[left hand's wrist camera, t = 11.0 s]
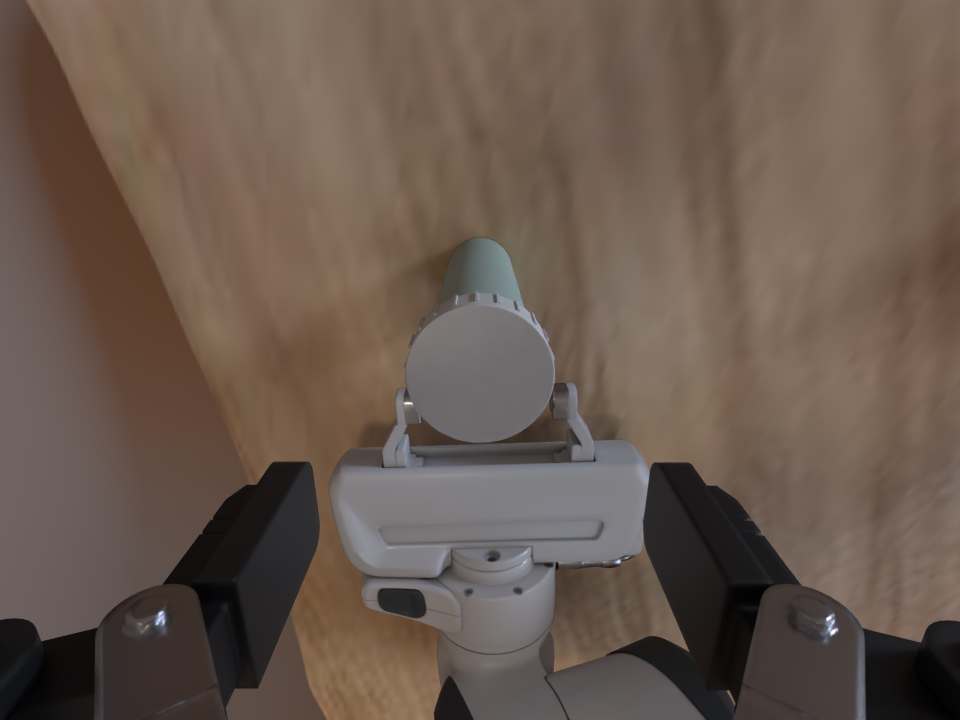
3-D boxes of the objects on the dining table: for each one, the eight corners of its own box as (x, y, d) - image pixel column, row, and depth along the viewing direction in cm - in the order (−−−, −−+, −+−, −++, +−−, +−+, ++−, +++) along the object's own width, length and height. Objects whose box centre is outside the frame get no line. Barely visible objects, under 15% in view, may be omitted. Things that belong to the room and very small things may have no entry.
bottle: (510, 236, 35) (540, 311, 18) (512, 299, 36) (541, 424, 19) (446, 239, 35) (413, 317, 18) (450, 301, 36) (424, 429, 19)
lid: (550, 286, 19) (556, 298, 17) (550, 420, 21) (556, 442, 19) (402, 293, 19) (395, 306, 17) (416, 425, 21) (410, 448, 19)
